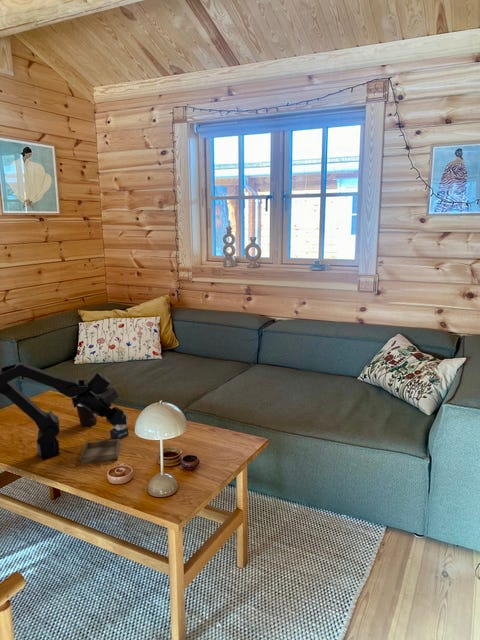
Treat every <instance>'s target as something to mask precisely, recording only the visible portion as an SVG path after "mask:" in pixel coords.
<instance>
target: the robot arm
mask: <svg viewBox="0 0 480 640" xmlns="http://www.w3.org/2000/svg"><path fill="white" fill-rule="evenodd" d="M19 377H23V378H25V379H28V380H31V381H34V382H37V383H40V384H42V385H45V386H49V387H51V388H52V389H53V388H54V389H55V390H56V391H57V392H59V393H60V394H62V395H64V396H66V397H68V398H71V404H72V406H73V408H77V407H76V406H77V405H78V404H81V405H82V406H84V407H86V408H87V409H89V411H91V412H92V413H94V414H96V415H97V417H100V418H105V421H106V422H107V423H109V424H111V426H113V425H114V426H115V425H126V423H127V424H128V421H127V422H126V420H125V419H124V418H123V417H122V415H123V413H125V412H124V410H122V409H121V408H119V407H117V406H114V407H112V408H111V406H112V405H113V404H112V402H113V401H115V400H116V399H118V398H119V397H120V394H119V392H118V391H117V390H116V389H115V388H113V387H112V386H111V387H109V386H110V385H111V384H112V381H111V380H110V379H109V377H107V375H105V374H102V373H100V372H98V371H96V372H94V374H93V375H92V377H91V378H90V379H89V380H87V379H77V378H75V377H74V376H73V377H72V376H67V375H57V374H54V373H52V372H48V371H46V370H43V369H40V368H38V367H35V366H32V365H31V364H27V363H25V362H22V361H20V362H17V363H15V364H10V365H9V364H8V365H6V366H2V367H0V394H1V395H4V396H5V397H6V398H7V399H8V400H9V401H11V402H12V403H13V405H15V406H16V407H17V408H18V409H20V410H21V411H22V412H23V413H24V414H26V416H28V417H29V418H30V419H31V420H32V421H34V423H35V425H36V427H37V429H38V430H37V438H36V446H37V452H36V455H37V457H38V458H40V459H41V460H42V461H45V459H46V460H48V459H51V458H54V457H57V456H59V454H60V455H61V452H60V442H59V440H58V438H57V436H58V435H59V433H60V420H59V416H58V415H55V414H54V413H53V411H52V410H49V411H47V412H46V411H44V410H42V409H41V408H40V407H39V406H38V405H37V404H36V403H35V402H33V401H32V400H31V399H30V398H29V397H27V395H25V394H24V393H23V392H22V391H21V390H20V389H19V388H18V387H17V386H16V385H14V383H13V381H12V380H15V379H17V378H19ZM126 426H127V425H126Z"/></svg>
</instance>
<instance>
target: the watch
mask: <svg viewBox="0 0 480 640" xmlns="http://www.w3.org/2000/svg"><path fill="white" fill-rule="evenodd" d="M122 417H123V418H124V419H125V420H126V422H127V423H126V425H115V426H114V425H112V427H113V428H112V429H110V430H109V436H110V439H112V440H115V439H120V440H122V439H124V438H127V437H129V435H130V434H129V428H128V427H127V425H128V420H129V415H127V413H126V412H124V413H123V415H122Z"/></svg>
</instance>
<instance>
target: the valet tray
mask: <svg viewBox="0 0 480 640" xmlns="http://www.w3.org/2000/svg"><path fill="white" fill-rule="evenodd" d="M121 446H122V443H121V439H107V440H105V439H104V440H94V441H85V443H84V446H83V449H82V450H81V451H82V452H81V454H80V464H82V465H83V464H95V463H104V462H115V461H118V460H119V455H120V451H121Z"/></svg>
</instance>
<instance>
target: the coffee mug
mask: <svg viewBox="0 0 480 640" xmlns="http://www.w3.org/2000/svg"><path fill="white" fill-rule="evenodd" d="M75 408H76V411H77V415H78V420H79V425H80V426H82V427H81V428H83V427H90V428H92V427H91V426H93V427H95V426H96V425H97V424H98V415H96V414H94V413H92V412H91V411H89V409H87V408H86V407H84V406H82V405H81V404H78V405H77V406H76V407H75ZM94 425H95V426H94Z"/></svg>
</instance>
